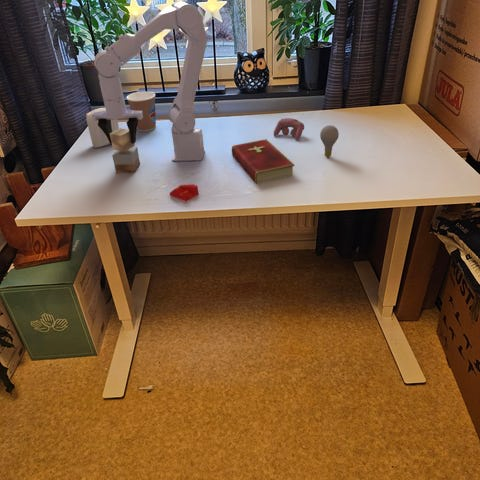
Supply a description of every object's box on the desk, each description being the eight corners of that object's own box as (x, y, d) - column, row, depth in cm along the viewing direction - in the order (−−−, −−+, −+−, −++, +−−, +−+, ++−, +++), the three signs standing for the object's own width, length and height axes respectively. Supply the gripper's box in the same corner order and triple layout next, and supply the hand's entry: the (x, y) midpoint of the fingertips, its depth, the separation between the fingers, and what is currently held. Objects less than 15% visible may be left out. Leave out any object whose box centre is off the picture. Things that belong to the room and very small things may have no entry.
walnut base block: (140, 164, 140) (138, 156, 138) (135, 173, 135) (133, 164, 133) (121, 165, 140) (119, 156, 139) (116, 173, 135) (114, 164, 134)
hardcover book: (255, 185, 125) (255, 172, 123) (232, 157, 141) (231, 144, 139) (294, 177, 128) (294, 163, 126) (266, 150, 144) (266, 138, 142)
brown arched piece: (302, 141, 151) (307, 121, 150) (297, 140, 147) (302, 119, 146) (277, 137, 156) (281, 117, 154) (271, 135, 152) (275, 115, 151)
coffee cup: (157, 132, 161) (152, 99, 154) (130, 133, 162) (123, 100, 155) (162, 122, 170) (157, 90, 163) (135, 123, 170) (129, 92, 163)
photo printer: (119, 138, 159) (111, 103, 152) (123, 141, 156) (116, 107, 149) (91, 145, 154) (82, 110, 147) (95, 149, 151) (86, 114, 144)
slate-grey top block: (138, 156, 138) (137, 147, 136) (133, 164, 133) (131, 155, 131) (120, 156, 139) (118, 147, 137) (114, 164, 134) (112, 155, 132)
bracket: (198, 195, 122) (197, 185, 120) (186, 202, 119) (185, 193, 117) (182, 189, 125) (180, 179, 124) (170, 196, 122) (168, 186, 121)
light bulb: (340, 156, 137) (342, 125, 131) (330, 162, 134) (332, 130, 128) (325, 151, 140) (327, 121, 134) (315, 157, 137) (317, 126, 131)
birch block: (134, 145, 134) (131, 130, 131) (124, 151, 131) (120, 135, 128) (123, 143, 136) (119, 128, 133) (113, 149, 133) (109, 133, 130)
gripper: (141, 92, 128) (149, 136, 135) (93, 93, 129) (103, 138, 137) (135, 100, 122) (144, 146, 130) (84, 101, 123) (96, 147, 131)
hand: (123, 142), depth 133 cm, fingers closed on birch block, 6 cm apart
